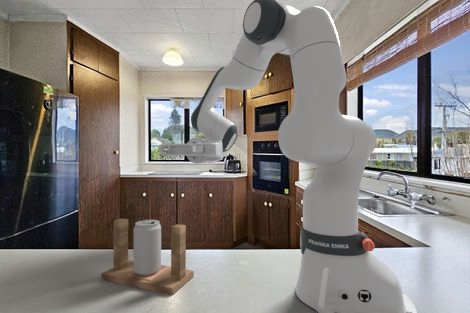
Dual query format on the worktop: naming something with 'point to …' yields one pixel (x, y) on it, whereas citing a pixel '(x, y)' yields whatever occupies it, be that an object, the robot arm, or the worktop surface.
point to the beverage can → (147, 247)
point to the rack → (166, 276)
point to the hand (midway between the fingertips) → (176, 148)
